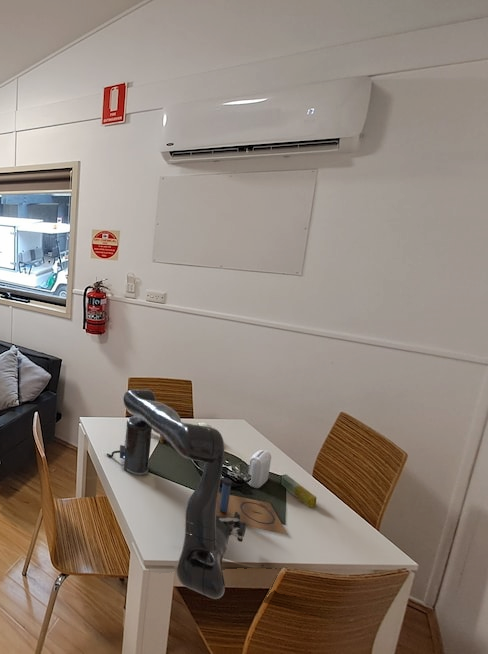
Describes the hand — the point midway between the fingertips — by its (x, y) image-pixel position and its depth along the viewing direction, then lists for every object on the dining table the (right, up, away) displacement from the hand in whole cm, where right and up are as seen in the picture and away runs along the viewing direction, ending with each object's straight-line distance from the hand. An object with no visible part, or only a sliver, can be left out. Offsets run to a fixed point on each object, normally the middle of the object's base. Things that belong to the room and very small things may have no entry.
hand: (220, 508), depth 119 cm
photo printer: (+29, -4, +23) cm, 37 cm away
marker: (+6, -6, +8) cm, 12 cm away
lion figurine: (+3, +1, +51) cm, 51 cm away
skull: (+22, 0, +50) cm, 55 cm away
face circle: (+17, -6, +8) cm, 20 cm away
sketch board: (+13, -7, +9) cm, 17 cm away
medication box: (+38, -6, +16) cm, 42 cm away
